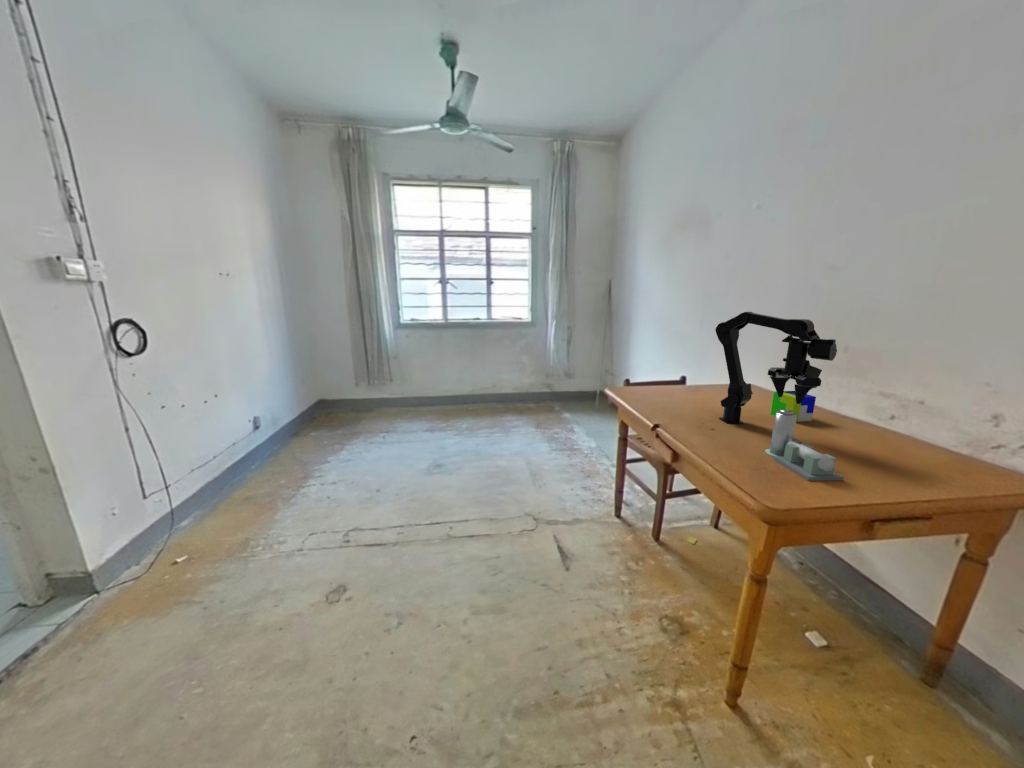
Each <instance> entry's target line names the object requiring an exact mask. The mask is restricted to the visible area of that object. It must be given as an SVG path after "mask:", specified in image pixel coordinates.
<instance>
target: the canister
mask: <svg viewBox="0 0 1024 768" xmlns="http://www.w3.org/2000/svg"><path fill="white" fill-rule="evenodd" d="M796 418H797V415H796V414H794V411H791V410H787V409H780V411H778V412H776V415H775V416H774V421H773V428H772V435H771V440H770V445H769V449H770V451H769V452H770V453H772V454H774V455H777V456H783V457H784V452H785V447H786V444H787V443H788V442H789V441H792V438H794V434H795V428H796V423H797V422H796Z"/></svg>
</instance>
